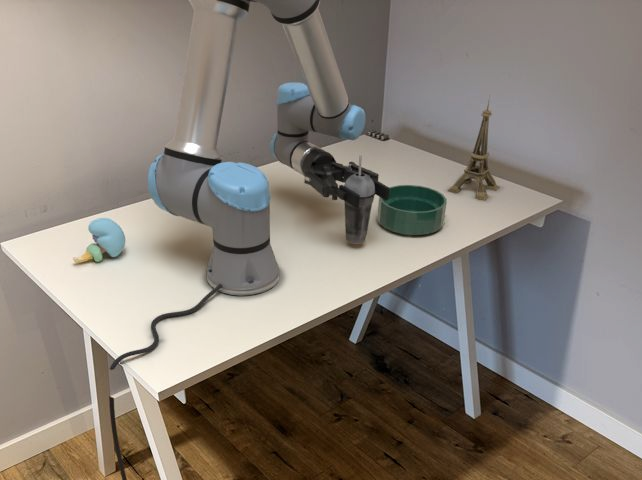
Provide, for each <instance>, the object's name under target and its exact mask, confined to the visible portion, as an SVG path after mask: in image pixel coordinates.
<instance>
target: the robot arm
mask: <svg viewBox="0 0 642 480" xmlns="http://www.w3.org/2000/svg"><path fill="white" fill-rule="evenodd" d="M188 2H189V4H190V6H191V7H192V9H193V15H192V22H191V27H190V28H191V29H190V35H189V41H188V48H187V55H186V60H185V67H184V73H183V79H182V85H181V91H180V98H179V105H178V111H177V117H176V124H175V129H174V137H173V139H172V140H171V141H169V142H168V143H166V144H165V145H164V151H163V153H161V154H159V155H158V156H157V157H155V159H154V162H152V163H151V164H150V166H149V169H148V174H147V188H148V193H149V195H150V198H151V200H153V203H154V204H155V205H156V206H157V207H158V208H159V209H160V210H162V211H165V212H167V213H169V214H171V215H172V216H175V217H181V218H183V219H186V220H190V221H192V222H196V223H198V224H202V225H204V226H207V227H210V228H211V229H212V230H211V231H212V241H213V242H212V249H211V253H210V256H209V260H208V264H207V266H206V280H207V283H208V284H209V286H210V287H211V288H212V289H211V291H210V292H208V293H207V294H206V295H205V296H203V298H202V299H200V301H199V302H198V303H197V304H196V305H194V306H193V307H190V308H189V309H186V310H180V311H173V312H167V313H163V314H160V315H158V316H156V317H155V318H154V319H153V320H152V321H151V325H150V329H151V332H152V335H153V339H154V340H153V342H152V343H151V344H150V345H149V346H147V347H143V348H139V349H136V350H135V349H134V350H131V351H127V352H125V353H122V354H121V355H119V356H118V357H117V358H115V360H113V362H112V363H111V365H110V367H109V370H110V371H113V370H115V368H116V367H118V364H119V363H121V361H123V360H124V359H126V358H130V357H133V356H137V355H142V354H147V353H148V352H151V351H153V350H154V349H155V348H156V347H157V346H158V344H159V343H160V342H159V341H160V337H159V333H158V330H157V328H156V324H157V323H158V322H160V321H161V320H163V319H166V318H173V317H179V316H185V315H189V314H192V313H194V312H196V311H197V310H199V309H200V308H201V307H203V305H204V304H205V303H206V302H207V301H209V299H210V298H211V297H212V296H214V294H216V293H217V292H220V293H223V294H226V295H230V296H251V295H252V296H253V295H257V294H258V295H259V294H261V293H265V292H266V291H269V290H270V289H272V288H273V287H275V286H276V285H277V284H278V282H279V280H280V266H279V263H278V261H277V259H276V256H275V253H274V250H273V247H272V243H271V192H270V186H269V185H270V184H269V180H268V177H267V176H266V174H265V173H264V172H263V171H262V170H261V169H259V168H258V167H256V166H254V165H251V164H249V163H245V162H240V161H238V162H234V161H224V162H222V160H223V157H222V155H221V153H220V152H219V150H218V148H217V146H218V140H219V135H220V128H221V123H222V117H223V111H224V106H225V101H226V100H225V99H226V95H227V89H228V83H229V77H230V73H231V66H232V60H233V56H234V55H233V54H234V50H235V44H236V37H237V32H238V26H239V23H240V21H242V20H243V19H244V18H246V17H247V16H248V15H249V10H250V6H251V5H250V4H251V2H253V3H259V4H262V5H264V6H265V7H266V8H267V9H268V10H269V11H270V14H271V16H272V19H273V20H274V21H275V22H276V23H277V24H279V25H281V26H282V29H283V31H284V33H285V36H286V38H287V41H288V43H289V45H290V49H291V50H292V53H293V55H294V58H295V60H296V63H297V66H298V68H299V70H300V72H301V75H302V78H303V79H304V83H303V82H295V81H294V82H293V81H292V82H286V83H282V84H281V85H280V86H278V89H277V103H276V112H277V118H276V119H277V131H276V132H275V133H274V134H273V136H272V138H271V141H269V151H270V153H271V155H272V156H273V158H275V159H276V160H277V161H278V162H279V163H281V164H282V165H284V166H287V167H289V168H290V169H292V170H293V171H295V172H297V173H299V174H300V175H301V176H303V177H304V182H303V183H304V184H305V185H308V186H310V187H312V188H313V189H314V190H315V191H316V192H317V193H318V194H320V195H321V196H322V197H323V198H330V196H331V200H332V201H338V199H340V201H341V200H342V201H343V202H344V201H346V202H347V203H349V204H351V205H352V206H354V207H355V208H358V207H359V199H360V195H359V194H357V193H355V192H354V191H352V190H350V189H348V188H347V187H345V186H344V184H345V182H346V180H347V179H348V178H349V177H350V176H351V175H353V174H355V173H359V164H356V163H355V162H354V161H349V162H348V165H344V164H343V163H340V162H337V161H336V159H335V157H334V155H333V154H332V153H330V152H328V151H327V150H325V149H323V148H321V147H320V146H317V145H316V144H313V143H311V142H310V141H309V132H313V133H316V134H317V133H318V134H321V135H326V136H329V137H334V138H337V139H339V140H349V141H356V140H357V139H358V138H360V137H361V135H362V133H363V131H364V130H365V126H366V120H367V118H366V112H365V110H364V109H363V108H362V107H360V106H357V105H356V104H351V101H350V98H349V96H348V93H347V90H346V87H345V84H344V81H343V78H342V74H341V72H340V69H339V67H338V64H337V60H336V57H335V54H334V51H333V48H332V45H331V43H330V39H329V37H328V34H327V31H326V27H325V24H324V22H323V19H322V15H321V13H320V9H319V7H320V5H321V0H188ZM361 173H364V174H366V175H368V176H369V177H370V178H371V179H372V180H373V182H374V185H375V192H376V193H375V196H377V197H378V198H379V197H381V198H383V199H384V200H388V198H389V187H390V186H388V185H385V184H384V183H382V182H381V181H379V173H377V172H375V171H372V170H370V169H368V168H366V167H363V166H361ZM336 181H337V182H340V183H344V184H338V183H337V182H336ZM108 400H109V417H110V426H111V433H112V438H113V446H114V450H115V455H116V459H117V463H118V467H119V472H120V476H121V480H127V475H126V469H125V466H124V461H123V457H122V452H121V447H120V443H119V437H118V436H119V435H118V429H117V423H116V410H115V398H114V397H113V396H110V395H109V396H108Z"/></svg>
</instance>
